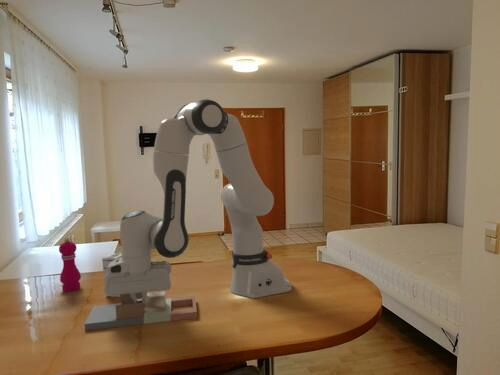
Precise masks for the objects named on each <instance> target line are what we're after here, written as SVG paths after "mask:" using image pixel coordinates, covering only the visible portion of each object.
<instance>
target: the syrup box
mask: <svg viewBox="0 0 500 375" xmlns="http://www.w3.org/2000/svg"><path fill="white" fill-rule="evenodd" d="M119 258H122V253H120V252H119V253H117V252H114V253H113V252H112V253H109V254H108V255H106V256H104V257H102V258H101V260H102V261H101V262H102V271H103V272H102V273H103V283H104V284H105V278H106V275H107V273H108V272H107V267H108V265H109V263H110V262H112V261H114V260H116V259H119ZM110 296H111V297H110V298H121V296H120V295H110ZM105 297H108V296H107V295H106V294H105Z"/></svg>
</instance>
